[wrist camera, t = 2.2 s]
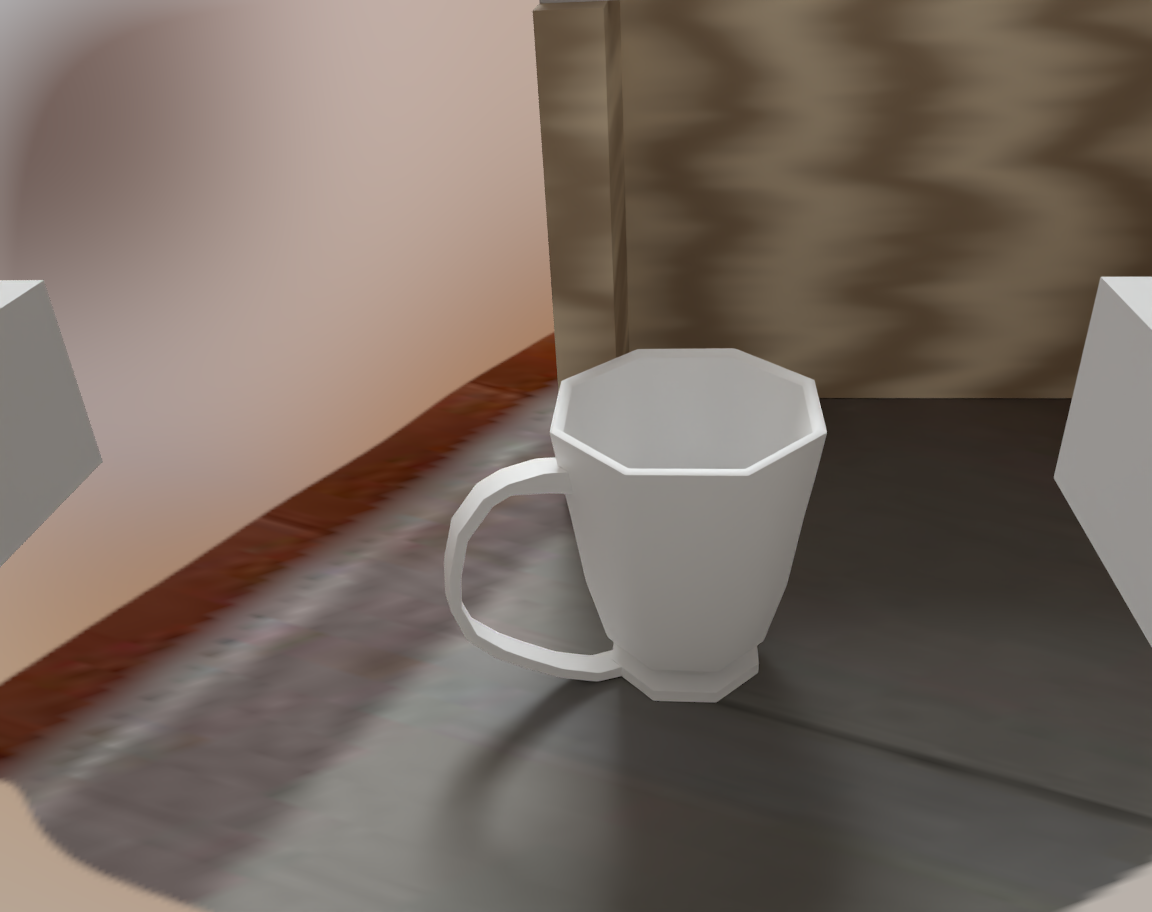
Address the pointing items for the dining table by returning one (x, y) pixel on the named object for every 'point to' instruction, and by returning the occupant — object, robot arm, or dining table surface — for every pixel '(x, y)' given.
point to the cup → (667, 514)
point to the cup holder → (846, 184)
